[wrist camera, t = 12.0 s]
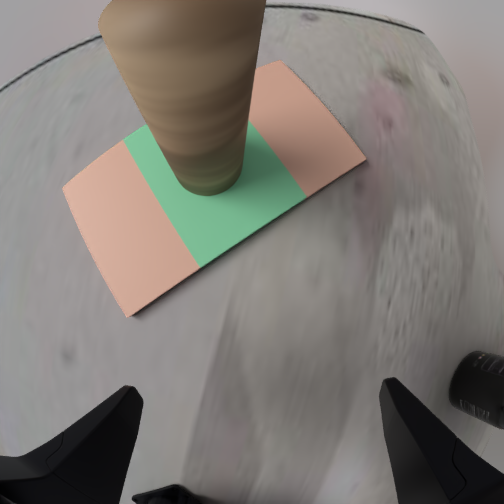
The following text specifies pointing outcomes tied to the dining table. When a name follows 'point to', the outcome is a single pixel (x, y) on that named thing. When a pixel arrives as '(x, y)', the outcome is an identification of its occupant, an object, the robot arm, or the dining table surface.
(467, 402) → the supplement bottle
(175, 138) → the walnut peg
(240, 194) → the board
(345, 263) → the dining table surface
